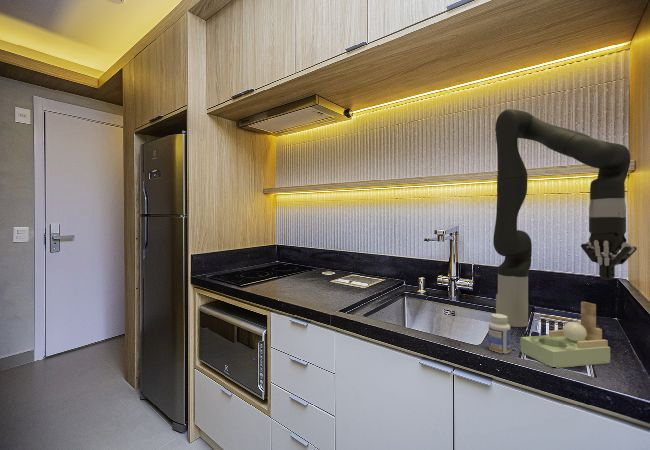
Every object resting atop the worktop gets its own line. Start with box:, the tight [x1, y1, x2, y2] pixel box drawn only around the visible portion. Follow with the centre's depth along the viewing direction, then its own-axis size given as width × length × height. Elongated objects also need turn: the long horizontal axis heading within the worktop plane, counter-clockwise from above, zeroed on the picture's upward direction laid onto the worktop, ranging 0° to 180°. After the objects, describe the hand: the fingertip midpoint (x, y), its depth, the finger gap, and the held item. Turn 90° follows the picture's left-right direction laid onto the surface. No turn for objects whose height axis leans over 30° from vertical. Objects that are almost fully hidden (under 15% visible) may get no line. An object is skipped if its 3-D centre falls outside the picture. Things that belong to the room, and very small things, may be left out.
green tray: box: [520, 329, 611, 369], centre depth 82 cm, size 10×17×6 cm, turn 100°
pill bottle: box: [488, 313, 512, 354], centre depth 86 cm, size 5×5×10 cm
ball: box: [562, 321, 587, 342], centre depth 82 cm, size 5×5×5 cm
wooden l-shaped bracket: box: [575, 301, 603, 340], centre depth 83 cm, size 6×1×10 cm, turn 10°
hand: (606, 279), depth 84 cm, fingers closed
